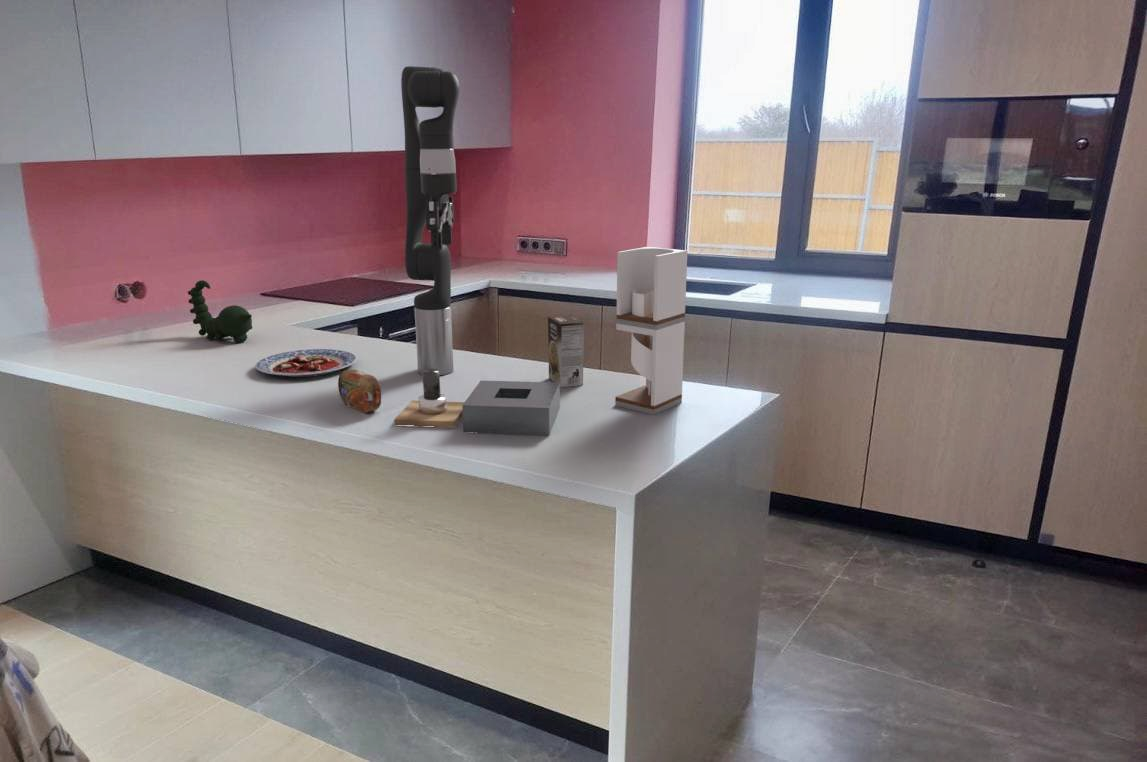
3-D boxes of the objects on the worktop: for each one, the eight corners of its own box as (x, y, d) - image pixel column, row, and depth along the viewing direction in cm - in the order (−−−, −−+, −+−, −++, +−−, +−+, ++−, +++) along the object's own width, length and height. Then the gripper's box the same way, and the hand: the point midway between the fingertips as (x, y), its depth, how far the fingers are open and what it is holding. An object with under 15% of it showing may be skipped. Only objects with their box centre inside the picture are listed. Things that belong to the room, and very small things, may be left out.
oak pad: (412, 406, 185) (412, 400, 184) (468, 408, 184) (468, 402, 183) (394, 426, 172) (394, 419, 172) (454, 428, 171) (454, 421, 171)
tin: (338, 402, 189) (335, 367, 186) (350, 399, 191) (347, 364, 188) (372, 417, 178) (369, 380, 176) (385, 413, 180) (382, 377, 178)
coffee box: (547, 378, 207) (547, 316, 202) (571, 375, 209) (571, 314, 205) (559, 387, 199) (559, 323, 194) (584, 385, 201) (584, 321, 196)
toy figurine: (188, 344, 249) (243, 346, 237) (176, 282, 244) (231, 281, 232) (214, 338, 257) (269, 339, 245) (203, 278, 252) (258, 277, 240)
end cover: (422, 406, 181) (420, 367, 178) (449, 406, 180) (447, 367, 178) (416, 414, 175) (413, 374, 172) (443, 415, 175) (441, 375, 172)
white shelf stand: (643, 393, 194) (647, 246, 184) (681, 402, 188) (687, 250, 178) (615, 405, 186) (617, 251, 176) (653, 414, 179) (658, 256, 169)
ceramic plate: (328, 385, 202) (327, 374, 201) (235, 379, 207) (234, 368, 206) (373, 359, 226) (373, 348, 225) (289, 354, 231) (288, 344, 230)
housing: (481, 405, 186) (480, 380, 184) (559, 407, 184) (559, 382, 182) (463, 432, 168) (462, 405, 167) (549, 435, 167) (549, 407, 165)
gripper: (430, 169, 180) (433, 242, 185) (411, 172, 167) (416, 251, 172) (463, 169, 180) (466, 243, 184) (447, 172, 166) (450, 252, 171)
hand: (442, 247), depth 178 cm, fingers open, 8 cm apart
